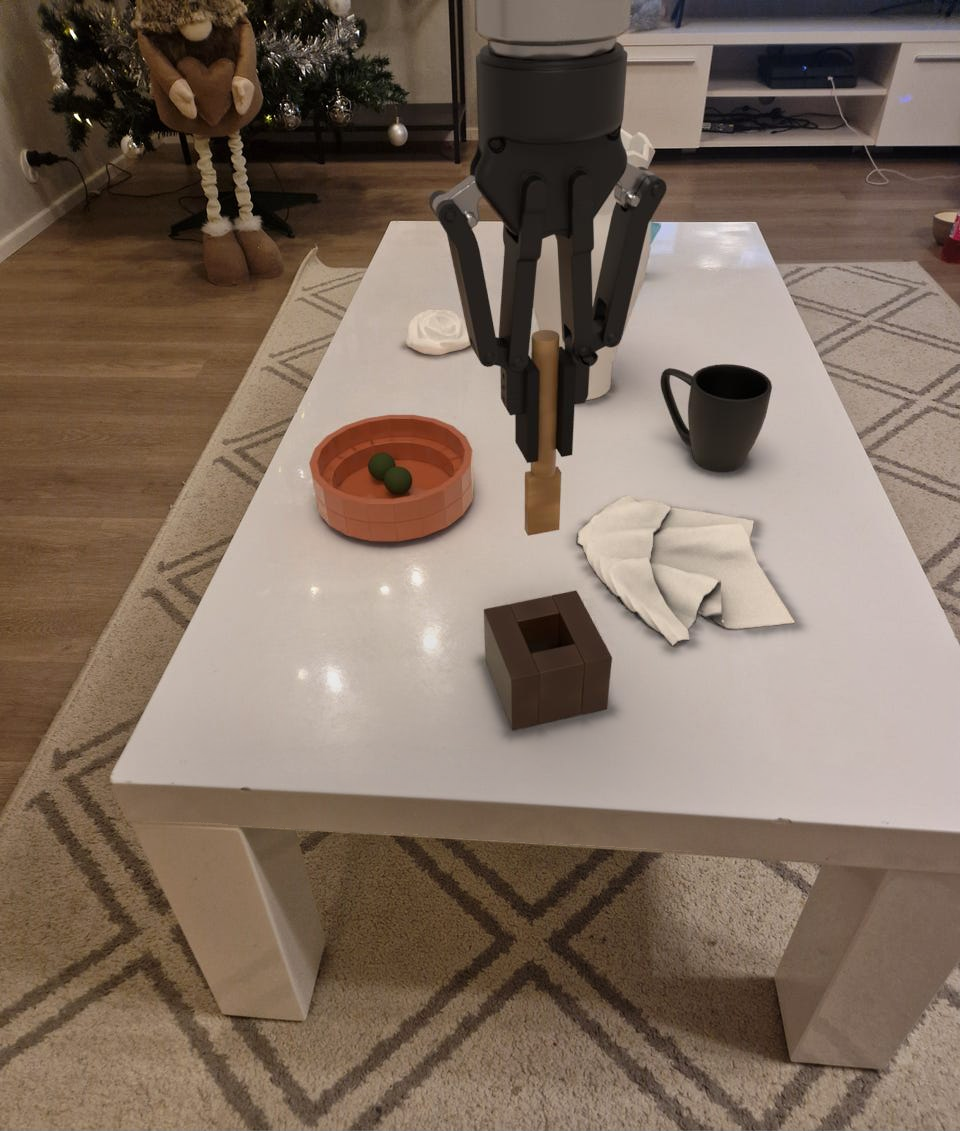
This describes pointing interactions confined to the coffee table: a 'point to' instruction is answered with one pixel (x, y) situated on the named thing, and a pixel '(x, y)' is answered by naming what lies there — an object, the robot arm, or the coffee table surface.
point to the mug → (720, 413)
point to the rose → (437, 332)
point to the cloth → (680, 567)
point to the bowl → (363, 500)
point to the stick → (545, 441)
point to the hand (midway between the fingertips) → (543, 447)
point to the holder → (546, 659)
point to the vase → (548, 271)
